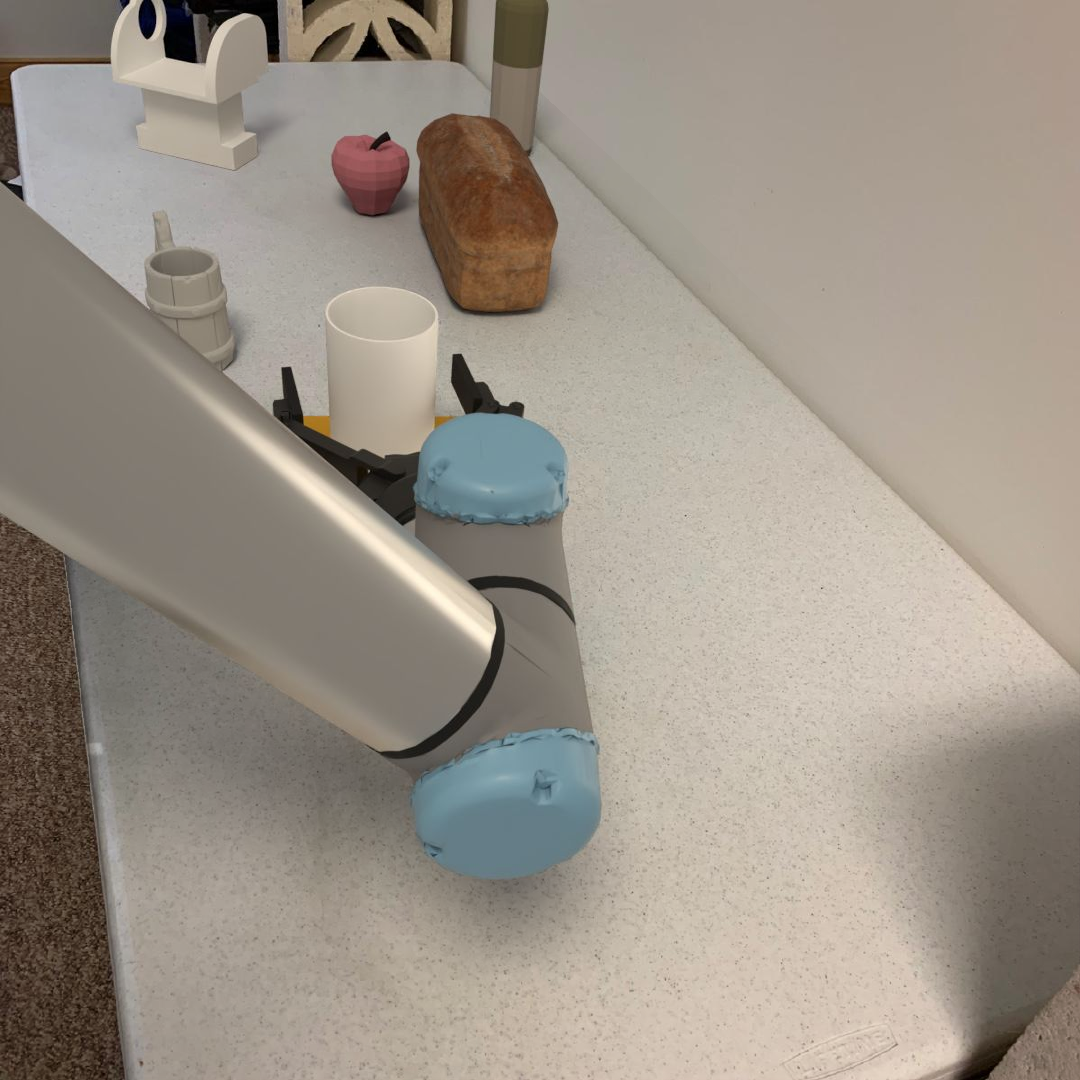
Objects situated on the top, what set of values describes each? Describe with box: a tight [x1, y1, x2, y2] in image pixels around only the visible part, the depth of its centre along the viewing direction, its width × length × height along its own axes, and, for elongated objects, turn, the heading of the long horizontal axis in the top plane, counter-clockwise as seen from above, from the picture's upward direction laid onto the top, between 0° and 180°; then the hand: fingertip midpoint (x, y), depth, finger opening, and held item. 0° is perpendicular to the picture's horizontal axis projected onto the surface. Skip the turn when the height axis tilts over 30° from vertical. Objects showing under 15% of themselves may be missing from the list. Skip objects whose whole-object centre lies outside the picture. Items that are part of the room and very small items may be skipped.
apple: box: [330, 130, 411, 216], centre depth 120 cm, size 10×9×10 cm
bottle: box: [489, 0, 550, 156], centre depth 133 cm, size 7×7×30 cm
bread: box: [415, 112, 559, 313], centre depth 111 cm, size 12×28×14 cm, turn 15°
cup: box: [324, 286, 439, 473], centre depth 78 cm, size 8×8×16 cm
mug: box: [143, 209, 237, 371], centre depth 92 cm, size 8×12×12 cm, turn 31°
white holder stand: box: [110, 0, 270, 171], centre depth 126 cm, size 14×13×18 cm
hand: (373, 374), depth 80 cm, fingers open, 13 cm apart
